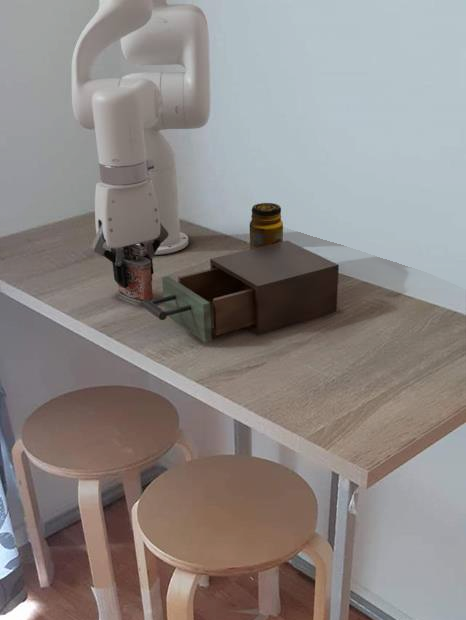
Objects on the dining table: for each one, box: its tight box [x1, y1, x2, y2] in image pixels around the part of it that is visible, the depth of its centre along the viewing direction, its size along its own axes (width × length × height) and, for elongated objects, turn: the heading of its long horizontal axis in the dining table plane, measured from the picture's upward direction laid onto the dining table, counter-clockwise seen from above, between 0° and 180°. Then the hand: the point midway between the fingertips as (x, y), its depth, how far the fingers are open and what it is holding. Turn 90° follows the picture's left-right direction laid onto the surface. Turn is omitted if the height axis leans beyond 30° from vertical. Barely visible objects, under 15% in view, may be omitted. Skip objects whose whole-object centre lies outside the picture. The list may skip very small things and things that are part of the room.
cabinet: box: [209, 240, 340, 335], centre depth 137 cm, size 16×15×8 cm
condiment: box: [249, 202, 284, 250], centre depth 149 cm, size 7×8×12 cm
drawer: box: [141, 267, 256, 343], centre depth 132 cm, size 20×13×6 cm, turn 122°
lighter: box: [117, 244, 155, 307], centre depth 141 cm, size 8×3×10 cm, turn 47°
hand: (134, 281), depth 142 cm, fingers closed on lighter, 4 cm apart
